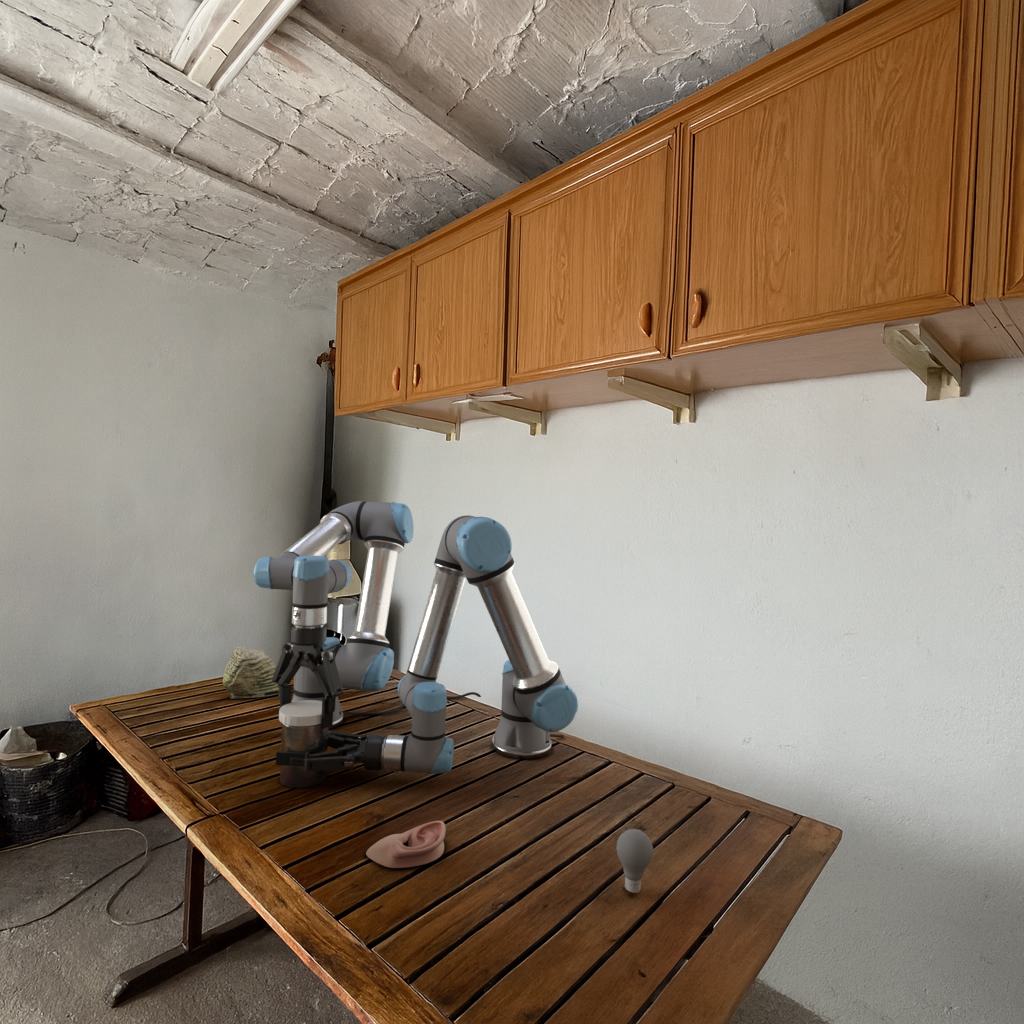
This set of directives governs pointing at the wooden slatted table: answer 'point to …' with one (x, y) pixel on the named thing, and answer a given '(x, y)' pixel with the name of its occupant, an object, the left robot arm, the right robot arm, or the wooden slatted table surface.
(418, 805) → the wooden slatted table surface
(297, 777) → the jar
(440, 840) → the anatomical model
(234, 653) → the fossil
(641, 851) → the light bulb
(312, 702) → the lid
